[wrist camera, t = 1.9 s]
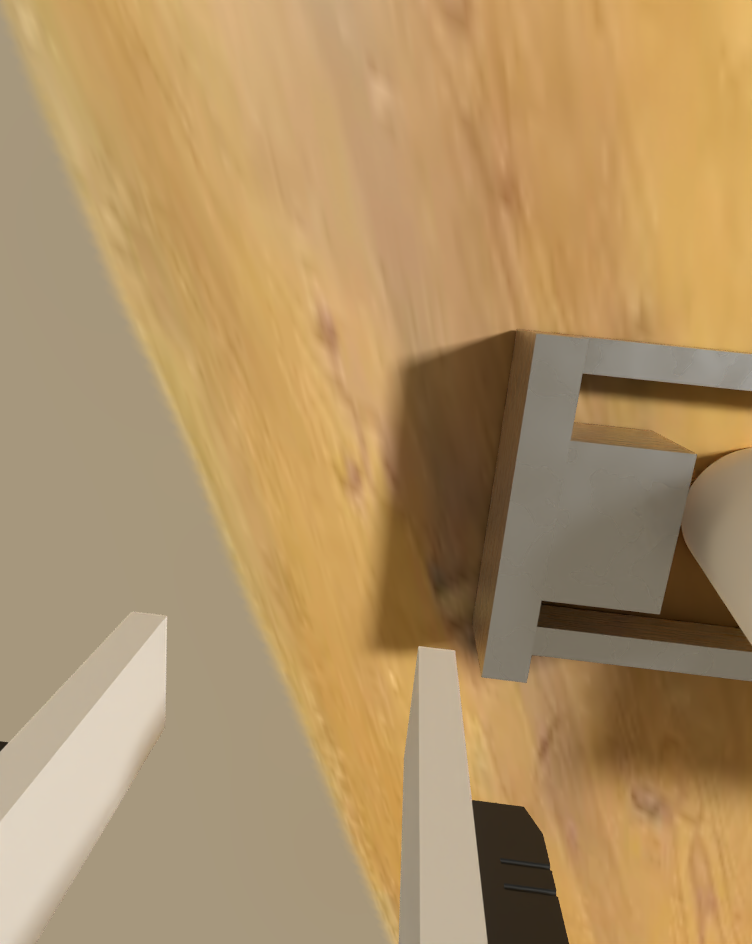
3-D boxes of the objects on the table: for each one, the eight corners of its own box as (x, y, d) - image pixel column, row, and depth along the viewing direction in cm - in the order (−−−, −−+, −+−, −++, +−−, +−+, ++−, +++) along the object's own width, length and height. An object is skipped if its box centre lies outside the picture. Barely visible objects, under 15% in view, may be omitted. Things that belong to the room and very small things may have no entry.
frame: (516, 329, 29) (536, 333, 25) (890, 367, 29) (985, 379, 24) (472, 623, 33) (481, 677, 28) (800, 662, 33) (867, 724, 28)
